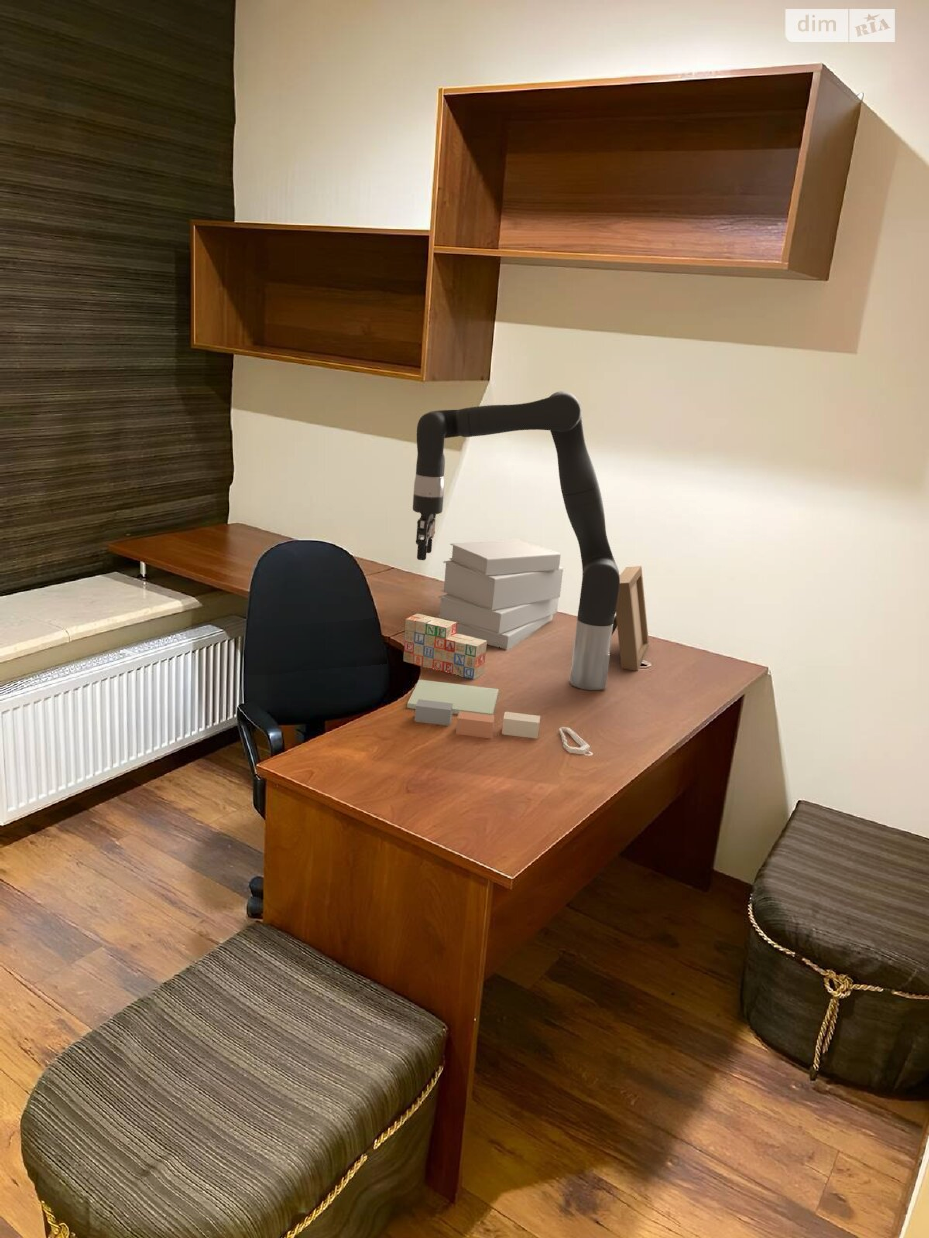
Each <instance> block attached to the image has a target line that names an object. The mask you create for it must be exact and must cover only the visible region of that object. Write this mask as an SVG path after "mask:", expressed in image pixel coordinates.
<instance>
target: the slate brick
mask: <svg viewBox="0 0 929 1238" xmlns="http://www.w3.org/2000/svg"><path fill="white" fill-rule="evenodd" d="M452 711H453V703H445V702H437V701H429V700H421V699H418V702H417V704H416V707H415V709H414V722H417V723H423V724H424V723H425V724H433V725H440V726H450V725H451V722H452V720H453V714H452Z"/></svg>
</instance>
